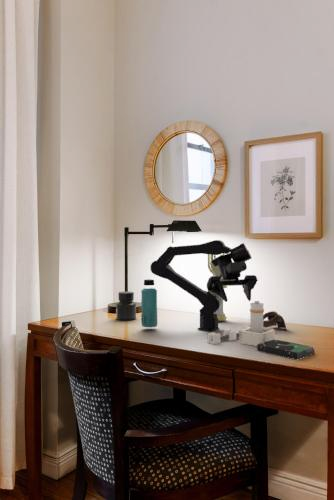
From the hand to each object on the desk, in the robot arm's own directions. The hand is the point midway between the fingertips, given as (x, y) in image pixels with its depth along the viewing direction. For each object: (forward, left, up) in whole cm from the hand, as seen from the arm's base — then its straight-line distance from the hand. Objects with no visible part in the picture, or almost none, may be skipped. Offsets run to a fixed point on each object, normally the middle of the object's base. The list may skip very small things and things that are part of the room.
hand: (238, 300), depth 160 cm
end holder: (+9, -3, -14) cm, 16 cm away
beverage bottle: (-35, -8, -14) cm, 39 cm away
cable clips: (-1, -4, -14) cm, 14 cm away
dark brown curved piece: (+5, +21, -14) cm, 26 cm away
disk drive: (+22, -10, -14) cm, 28 cm away
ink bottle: (-58, +4, -14) cm, 60 cm away
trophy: (-22, +24, -14) cm, 35 cm away
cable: (+2, -4, -13) cm, 14 cm away
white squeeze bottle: (+9, -3, -13) cm, 16 cm away
